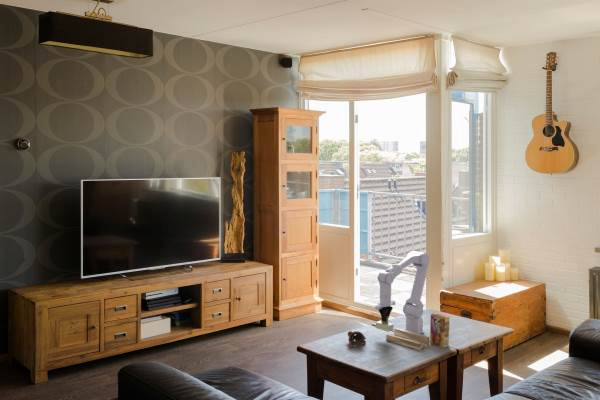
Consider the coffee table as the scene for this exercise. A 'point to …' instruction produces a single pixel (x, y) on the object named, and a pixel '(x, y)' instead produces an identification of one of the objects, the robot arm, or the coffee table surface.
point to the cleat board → (408, 339)
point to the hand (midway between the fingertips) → (385, 320)
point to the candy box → (439, 330)
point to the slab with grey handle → (385, 325)
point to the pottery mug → (356, 338)
